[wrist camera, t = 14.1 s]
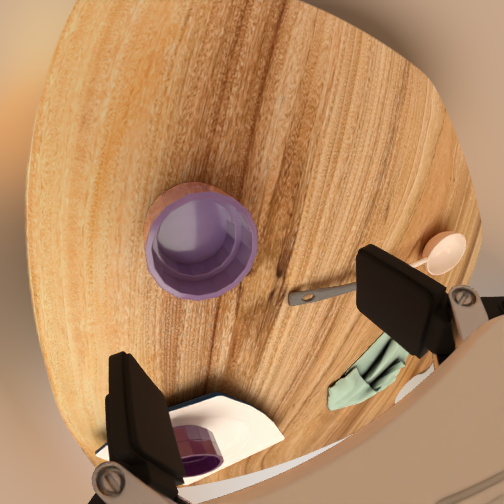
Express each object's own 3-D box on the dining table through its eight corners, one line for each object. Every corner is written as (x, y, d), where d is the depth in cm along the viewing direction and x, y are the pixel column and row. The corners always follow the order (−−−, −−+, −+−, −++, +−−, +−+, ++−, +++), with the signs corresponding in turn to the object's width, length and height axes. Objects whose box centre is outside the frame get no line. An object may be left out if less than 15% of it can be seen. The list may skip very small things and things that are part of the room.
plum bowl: (150, 450, 23) (157, 478, 20) (157, 422, 22) (165, 455, 18) (203, 448, 26) (214, 474, 23) (218, 421, 25) (231, 450, 21)
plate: (284, 423, 36) (292, 436, 33) (180, 475, 33) (185, 487, 31) (215, 365, 25) (223, 385, 23) (82, 436, 22) (83, 454, 20)
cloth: (310, 394, 34) (319, 406, 32) (419, 293, 36) (430, 301, 34) (343, 420, 45) (349, 428, 43) (421, 349, 47) (428, 355, 45)
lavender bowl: (134, 261, 18) (135, 291, 15) (159, 169, 16) (165, 177, 13) (218, 278, 21) (236, 306, 18) (248, 196, 20) (273, 210, 16)
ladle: (446, 258, 35) (467, 273, 31) (275, 298, 30) (289, 327, 25) (455, 221, 32) (478, 234, 28) (275, 248, 27) (292, 273, 23)
